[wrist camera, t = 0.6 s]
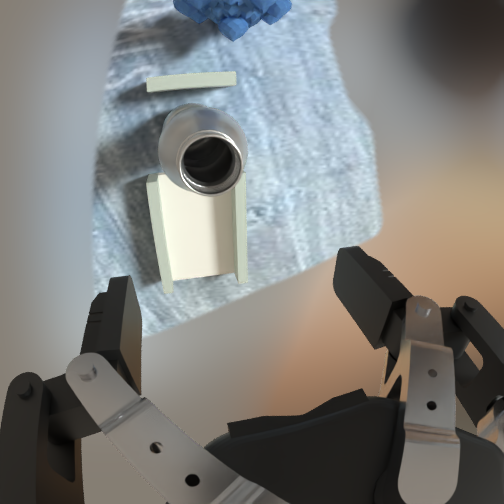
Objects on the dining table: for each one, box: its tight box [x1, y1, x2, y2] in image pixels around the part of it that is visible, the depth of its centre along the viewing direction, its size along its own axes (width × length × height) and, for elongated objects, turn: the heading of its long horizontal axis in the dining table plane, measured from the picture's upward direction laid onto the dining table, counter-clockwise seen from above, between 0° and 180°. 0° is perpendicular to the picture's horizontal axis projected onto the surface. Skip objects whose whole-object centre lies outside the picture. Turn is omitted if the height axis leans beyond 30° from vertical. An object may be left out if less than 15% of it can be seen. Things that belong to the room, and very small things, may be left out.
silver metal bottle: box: [158, 103, 248, 197], centre depth 25 cm, size 6×7×20 cm
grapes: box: [173, 0, 292, 41], centre depth 23 cm, size 12×7×12 cm, turn 89°
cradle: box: [146, 170, 248, 294], centre depth 37 cm, size 14×11×4 cm
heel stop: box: [146, 72, 236, 93], centre depth 29 cm, size 2×9×4 cm, turn 90°
